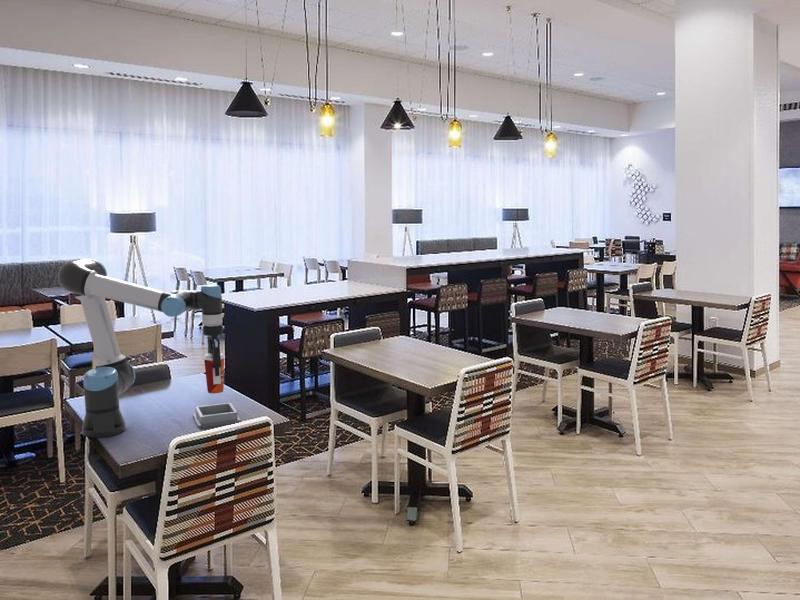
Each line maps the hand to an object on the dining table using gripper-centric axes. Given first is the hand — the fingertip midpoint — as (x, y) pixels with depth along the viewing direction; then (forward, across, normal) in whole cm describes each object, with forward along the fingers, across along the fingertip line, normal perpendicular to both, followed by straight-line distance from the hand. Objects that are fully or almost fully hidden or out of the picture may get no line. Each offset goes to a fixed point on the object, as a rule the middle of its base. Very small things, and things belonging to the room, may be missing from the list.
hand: (215, 381), depth 265 cm
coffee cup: (+4, 0, 0) cm, 4 cm away
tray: (+16, 0, 0) cm, 16 cm away
